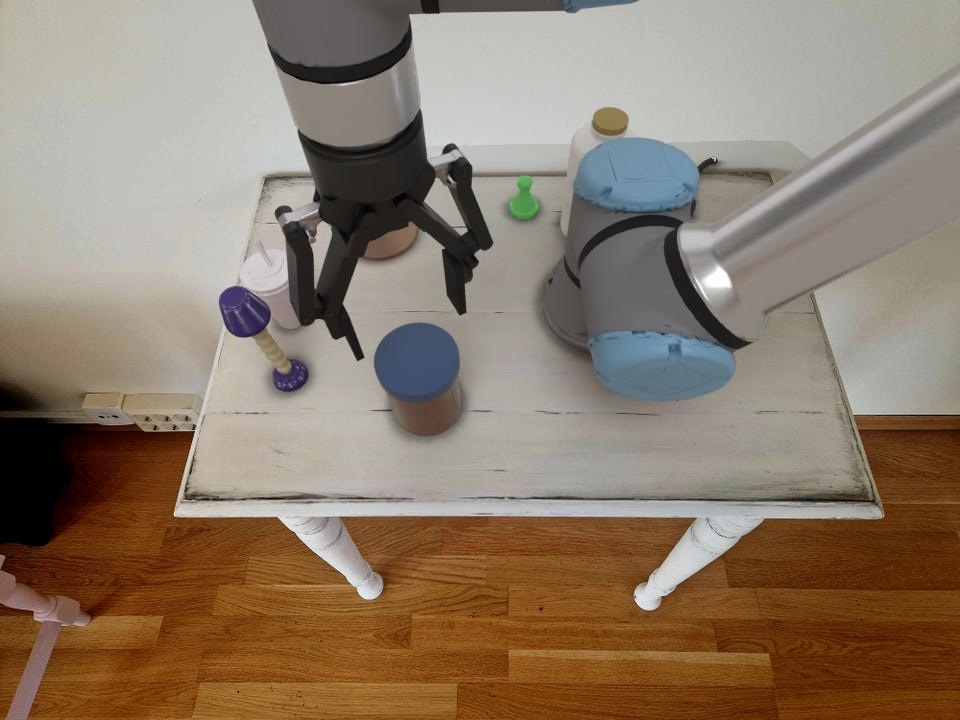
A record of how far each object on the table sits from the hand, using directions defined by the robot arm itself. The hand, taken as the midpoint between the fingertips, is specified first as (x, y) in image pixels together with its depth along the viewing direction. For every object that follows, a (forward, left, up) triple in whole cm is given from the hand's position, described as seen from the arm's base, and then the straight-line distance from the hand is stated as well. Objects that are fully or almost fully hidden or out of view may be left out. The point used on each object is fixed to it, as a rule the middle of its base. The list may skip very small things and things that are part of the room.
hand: (407, 325), depth 53 cm
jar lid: (0, 0, -6) cm, 6 cm away
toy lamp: (+13, -11, -17) cm, 24 cm away
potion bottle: (-32, -14, -17) cm, 39 cm away
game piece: (-26, -22, -17) cm, 38 cm away
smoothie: (+10, -20, -17) cm, 28 cm away
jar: (0, 0, -17) cm, 17 cm away
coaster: (-6, -28, -17) cm, 33 cm away
